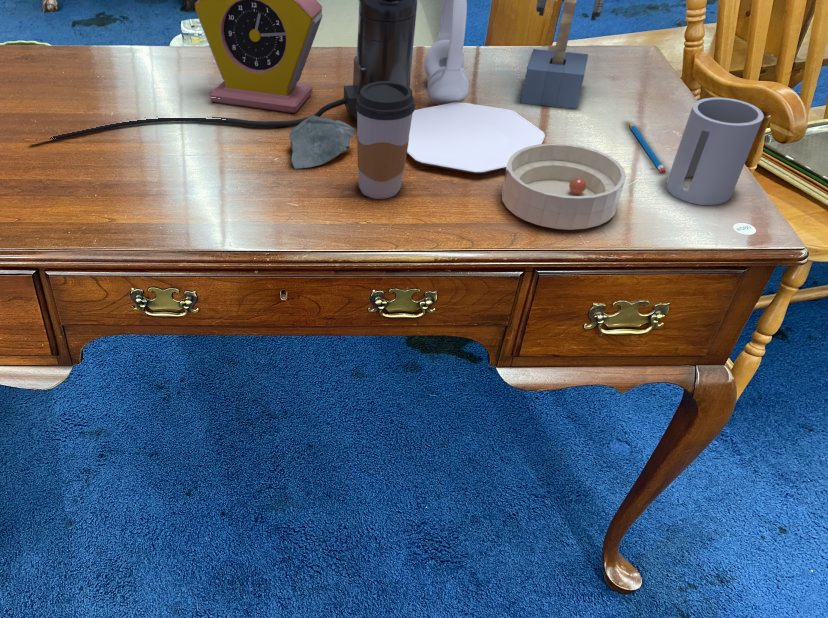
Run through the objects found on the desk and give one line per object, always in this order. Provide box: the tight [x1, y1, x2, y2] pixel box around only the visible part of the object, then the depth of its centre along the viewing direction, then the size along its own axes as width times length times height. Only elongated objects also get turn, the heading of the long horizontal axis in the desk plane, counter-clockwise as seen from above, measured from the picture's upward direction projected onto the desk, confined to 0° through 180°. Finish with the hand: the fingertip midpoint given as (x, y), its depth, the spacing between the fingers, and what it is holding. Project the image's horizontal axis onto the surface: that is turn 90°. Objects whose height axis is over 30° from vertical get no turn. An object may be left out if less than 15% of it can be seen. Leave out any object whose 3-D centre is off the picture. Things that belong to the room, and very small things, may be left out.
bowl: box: [501, 142, 627, 231], centre depth 116 cm, size 16×16×6 cm
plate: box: [407, 101, 546, 175], centre depth 132 cm, size 24×24×2 cm
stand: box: [520, 48, 589, 110], centre depth 143 cm, size 10×10×6 cm
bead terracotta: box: [569, 178, 586, 195], centre depth 118 cm, size 2×2×2 cm
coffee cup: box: [356, 81, 416, 200], centre depth 117 cm, size 8×8×15 cm
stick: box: [552, 0, 578, 65], centre depth 140 cm, size 2×2×16 cm
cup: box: [665, 96, 765, 206], centre depth 116 cm, size 9×9×12 cm
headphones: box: [423, 0, 470, 106], centre depth 139 cm, size 7×18×20 cm, turn 176°
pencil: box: [629, 123, 667, 175], centre depth 130 cm, size 1×17×1 cm, turn 179°
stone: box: [288, 114, 356, 170], centre depth 130 cm, size 11×4×10 cm
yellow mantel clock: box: [194, 0, 324, 114], centre depth 140 cm, size 22×9×22 cm, turn 69°
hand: (567, 15), depth 136 cm, fingers open, 8 cm apart
